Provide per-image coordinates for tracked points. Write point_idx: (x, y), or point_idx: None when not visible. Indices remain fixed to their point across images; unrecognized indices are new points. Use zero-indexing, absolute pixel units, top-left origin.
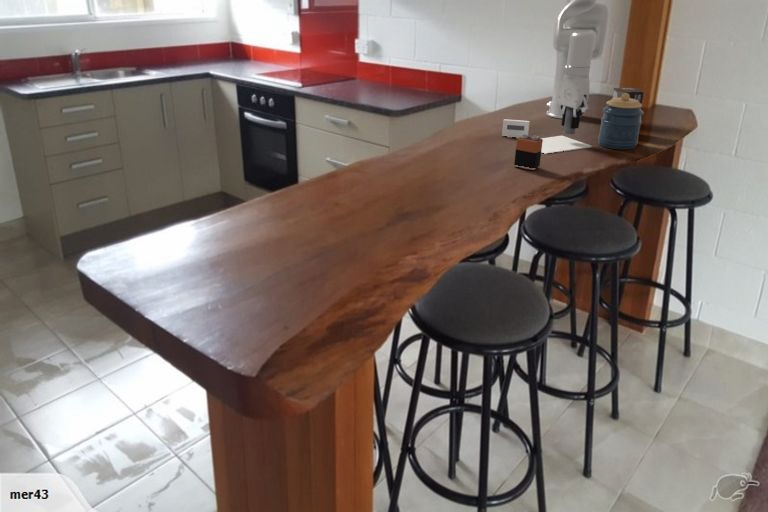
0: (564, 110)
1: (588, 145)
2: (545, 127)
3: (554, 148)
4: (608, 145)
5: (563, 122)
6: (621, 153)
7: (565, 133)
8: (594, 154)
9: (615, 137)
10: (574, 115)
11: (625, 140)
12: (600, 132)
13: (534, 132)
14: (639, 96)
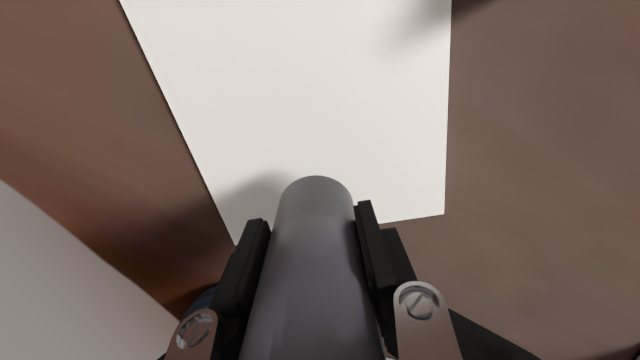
0: (397, 333)
1: None
2: (633, 218)
3: (197, 27)
4: (209, 294)
5: (356, 221)
6: (147, 291)
7: (300, 178)
8: (119, 200)
9: None
10: (201, 330)
11: None
12: None
13: (607, 109)
14: None
